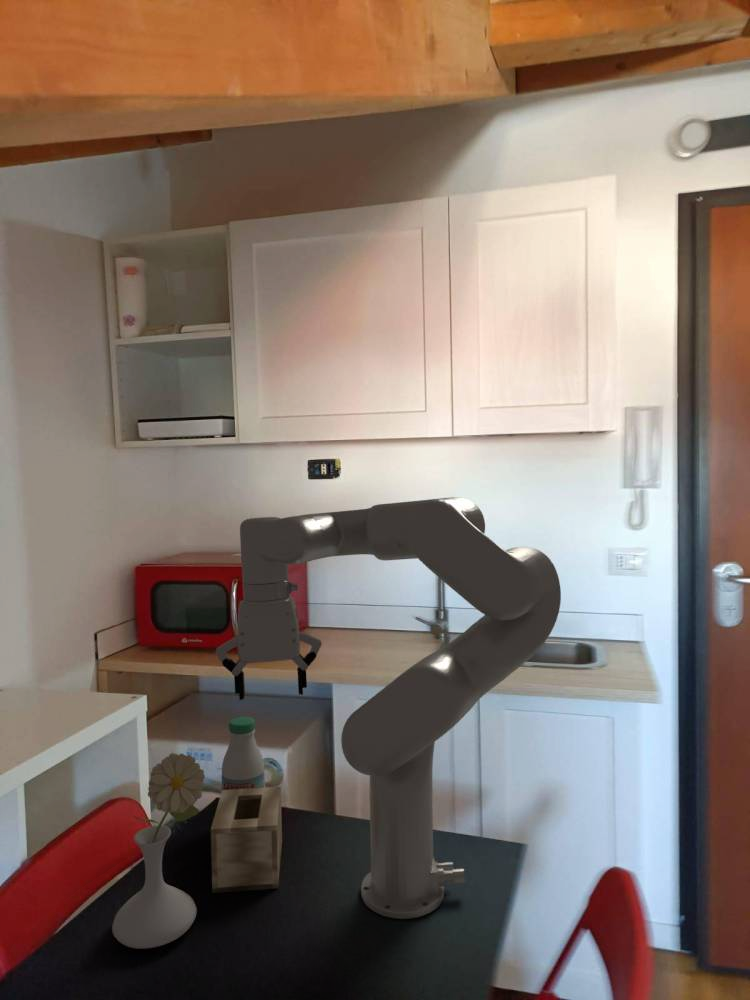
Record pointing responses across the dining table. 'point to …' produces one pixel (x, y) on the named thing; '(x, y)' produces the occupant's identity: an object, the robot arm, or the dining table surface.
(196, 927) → the dining table surface
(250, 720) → the milk bottle
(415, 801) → the robot arm
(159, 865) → the flower in vase
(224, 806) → the box
